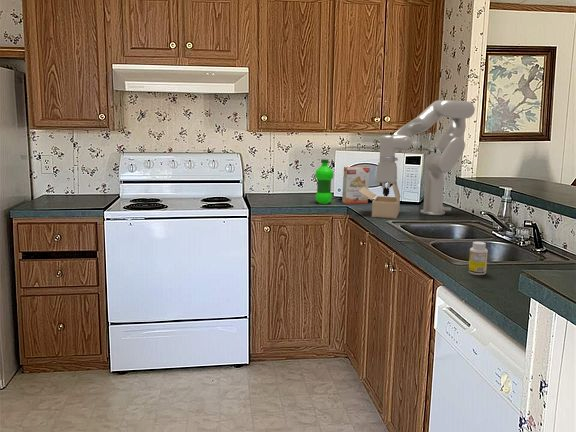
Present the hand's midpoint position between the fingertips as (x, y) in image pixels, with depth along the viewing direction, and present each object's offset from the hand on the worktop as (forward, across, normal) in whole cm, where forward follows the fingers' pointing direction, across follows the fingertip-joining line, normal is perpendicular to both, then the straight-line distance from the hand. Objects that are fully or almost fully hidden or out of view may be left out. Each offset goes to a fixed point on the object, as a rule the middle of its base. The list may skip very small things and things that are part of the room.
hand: (385, 195), depth 299 cm
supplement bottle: (+10, -41, +104) cm, 112 cm away
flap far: (-1, +9, 0) cm, 9 cm away
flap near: (-3, -5, 0) cm, 6 cm away
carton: (+10, 0, 0) cm, 10 cm away
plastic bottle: (+10, +38, -25) cm, 47 cm away
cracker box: (+10, +21, -34) cm, 41 cm away
